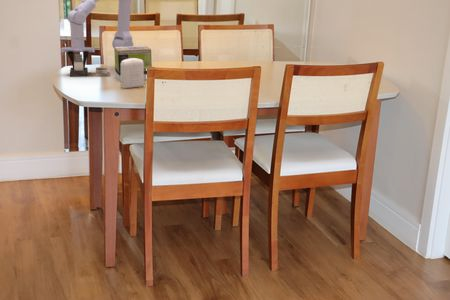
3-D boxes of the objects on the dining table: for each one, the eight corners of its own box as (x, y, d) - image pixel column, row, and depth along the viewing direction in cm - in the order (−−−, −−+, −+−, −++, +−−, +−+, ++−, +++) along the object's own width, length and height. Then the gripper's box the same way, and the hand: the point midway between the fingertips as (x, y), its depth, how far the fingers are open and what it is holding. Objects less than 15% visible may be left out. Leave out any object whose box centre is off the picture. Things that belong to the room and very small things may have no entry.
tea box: (147, 77, 290) (147, 45, 285) (152, 82, 281) (152, 48, 276) (115, 78, 285) (114, 45, 280) (118, 83, 276) (117, 49, 271)
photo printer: (141, 84, 275) (140, 56, 271) (145, 86, 272) (145, 58, 268) (119, 87, 270) (118, 58, 266) (123, 89, 266) (122, 60, 262)
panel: (110, 74, 292) (110, 66, 291) (110, 78, 284) (110, 71, 283) (70, 74, 289) (70, 67, 288) (69, 79, 281) (69, 71, 280)
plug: (83, 71, 287) (83, 54, 285) (83, 73, 284) (82, 55, 281) (74, 71, 287) (73, 54, 284) (74, 73, 283) (73, 55, 280)
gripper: (60, 39, 275) (61, 70, 279) (94, 39, 278) (95, 69, 282) (61, 36, 282) (62, 66, 286) (94, 36, 284) (95, 66, 289)
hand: (78, 68), depth 284 cm, fingers closed on plug, 4 cm apart
